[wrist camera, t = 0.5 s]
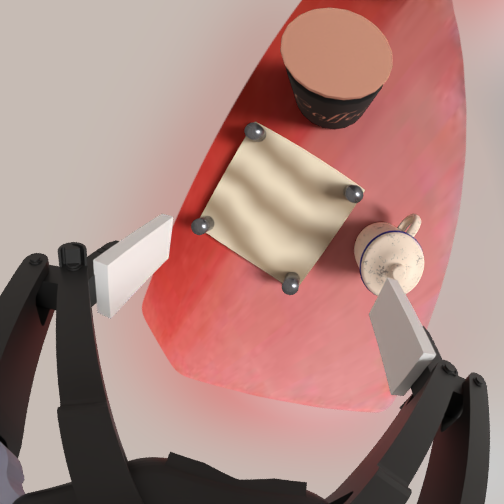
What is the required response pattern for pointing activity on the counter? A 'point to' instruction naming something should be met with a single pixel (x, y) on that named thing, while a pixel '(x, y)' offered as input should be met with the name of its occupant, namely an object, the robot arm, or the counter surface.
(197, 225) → the set of grey pegs
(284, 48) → the coffee jar
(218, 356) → the counter surface
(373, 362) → the counter surface
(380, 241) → the teacup with lid
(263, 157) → the birch board
